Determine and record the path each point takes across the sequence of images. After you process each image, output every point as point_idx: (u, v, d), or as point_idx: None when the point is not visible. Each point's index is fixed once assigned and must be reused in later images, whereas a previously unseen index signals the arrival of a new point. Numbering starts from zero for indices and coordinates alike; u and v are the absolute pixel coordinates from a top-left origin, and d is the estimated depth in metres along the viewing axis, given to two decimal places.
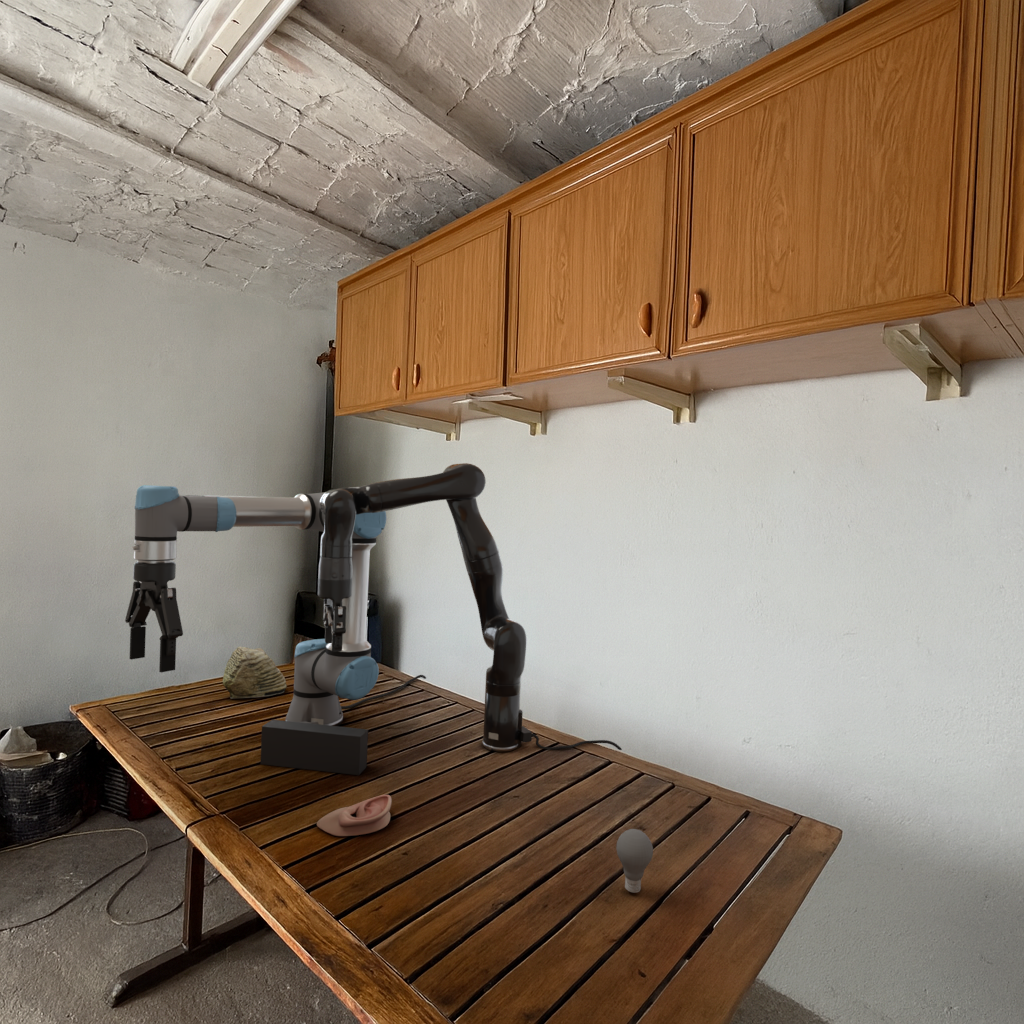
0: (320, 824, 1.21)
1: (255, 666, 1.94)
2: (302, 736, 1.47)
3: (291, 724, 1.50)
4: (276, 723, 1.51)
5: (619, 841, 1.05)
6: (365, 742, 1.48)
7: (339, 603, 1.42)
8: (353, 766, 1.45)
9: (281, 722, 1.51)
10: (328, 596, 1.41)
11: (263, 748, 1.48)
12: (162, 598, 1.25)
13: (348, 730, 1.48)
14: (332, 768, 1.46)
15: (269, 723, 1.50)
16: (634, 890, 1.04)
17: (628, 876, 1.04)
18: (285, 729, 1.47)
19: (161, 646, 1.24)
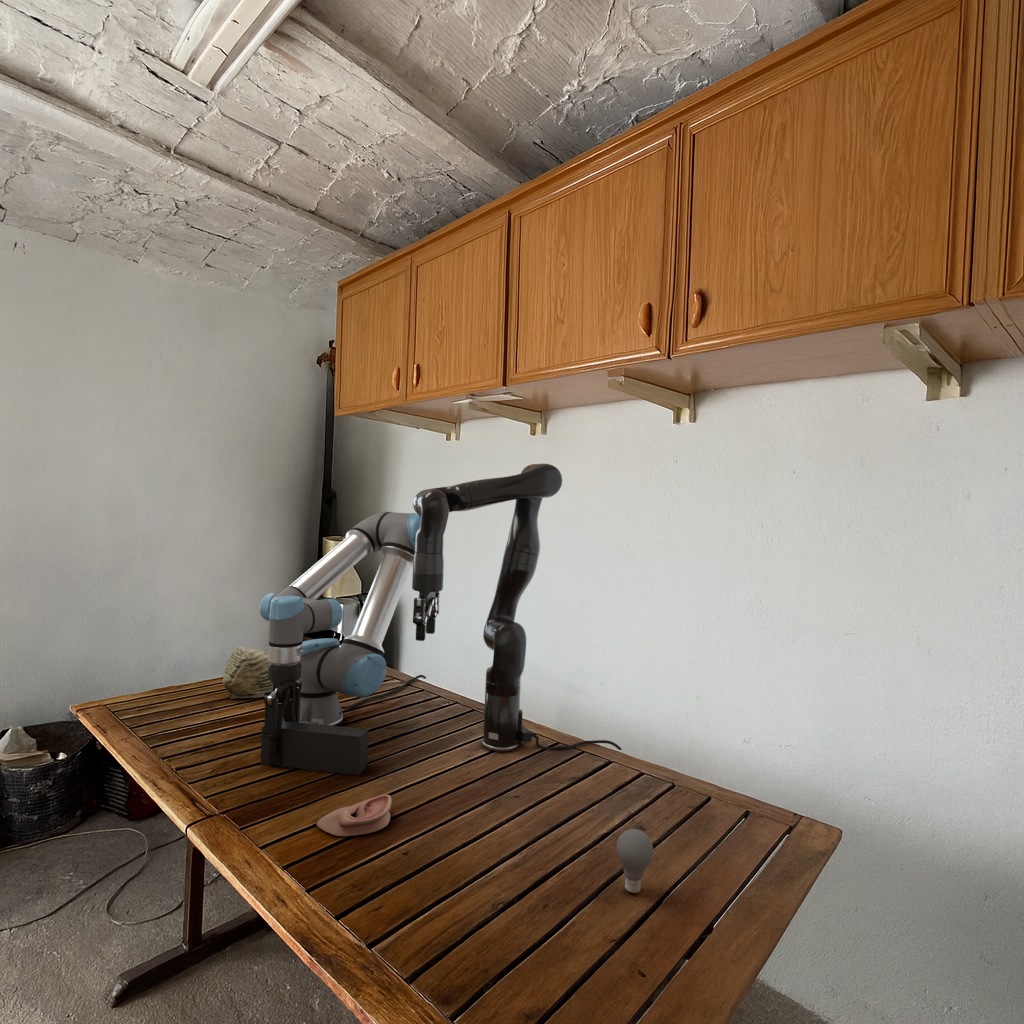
0: (320, 824, 1.21)
1: (255, 666, 1.94)
2: (302, 736, 1.47)
3: (291, 724, 1.50)
4: None
5: (619, 841, 1.05)
6: (365, 742, 1.48)
7: (424, 596, 1.51)
8: (353, 766, 1.45)
9: None
10: (415, 588, 1.52)
11: (263, 748, 1.48)
12: (299, 689, 1.55)
13: (348, 730, 1.48)
14: (332, 768, 1.46)
15: None
16: (634, 890, 1.04)
17: (628, 876, 1.04)
18: (285, 729, 1.47)
19: None
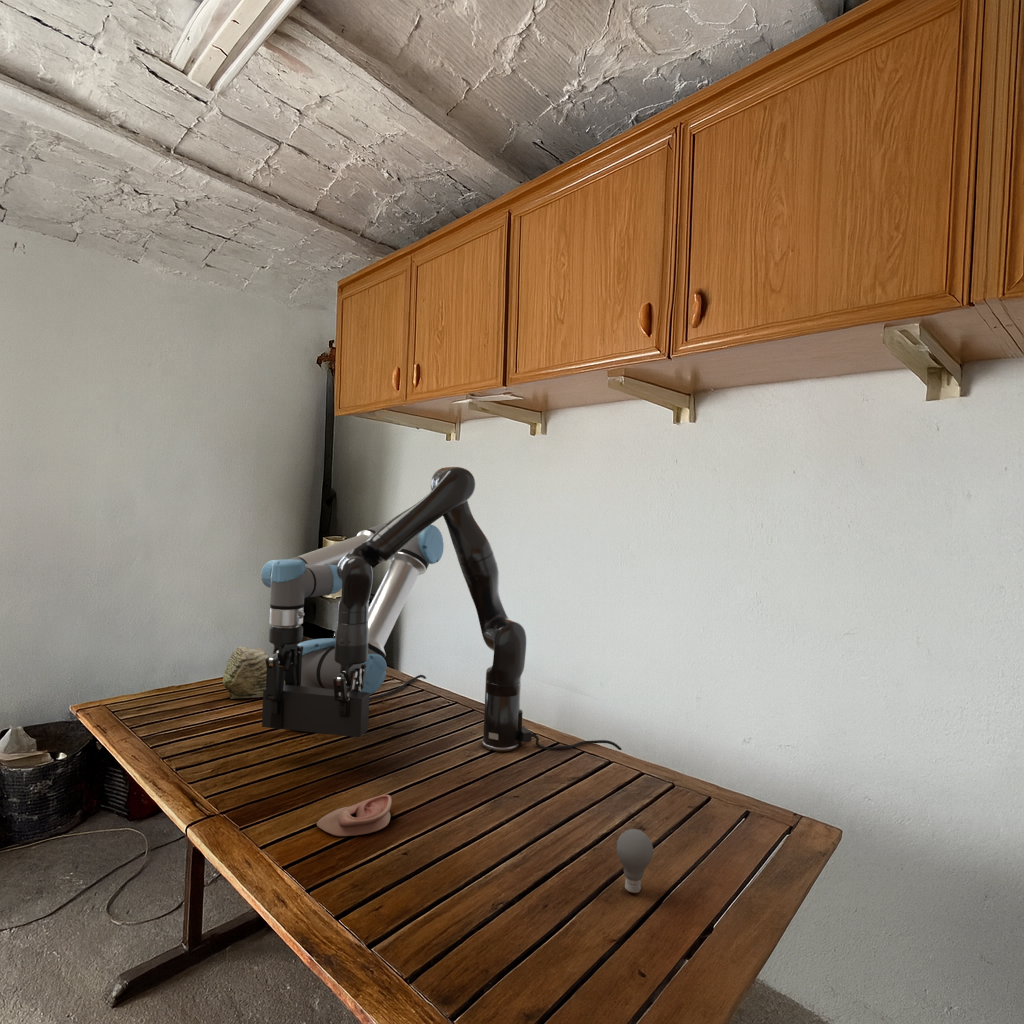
0: (320, 824, 1.21)
1: (255, 666, 1.94)
2: (303, 699, 1.47)
3: (293, 688, 1.50)
4: None
5: (619, 841, 1.05)
6: (366, 705, 1.48)
7: (345, 669, 1.43)
8: (355, 728, 1.45)
9: None
10: (337, 660, 1.44)
11: (264, 711, 1.48)
12: (301, 654, 1.55)
13: None
14: (333, 731, 1.45)
15: None
16: (634, 890, 1.04)
17: (628, 876, 1.04)
18: (287, 691, 1.47)
19: None
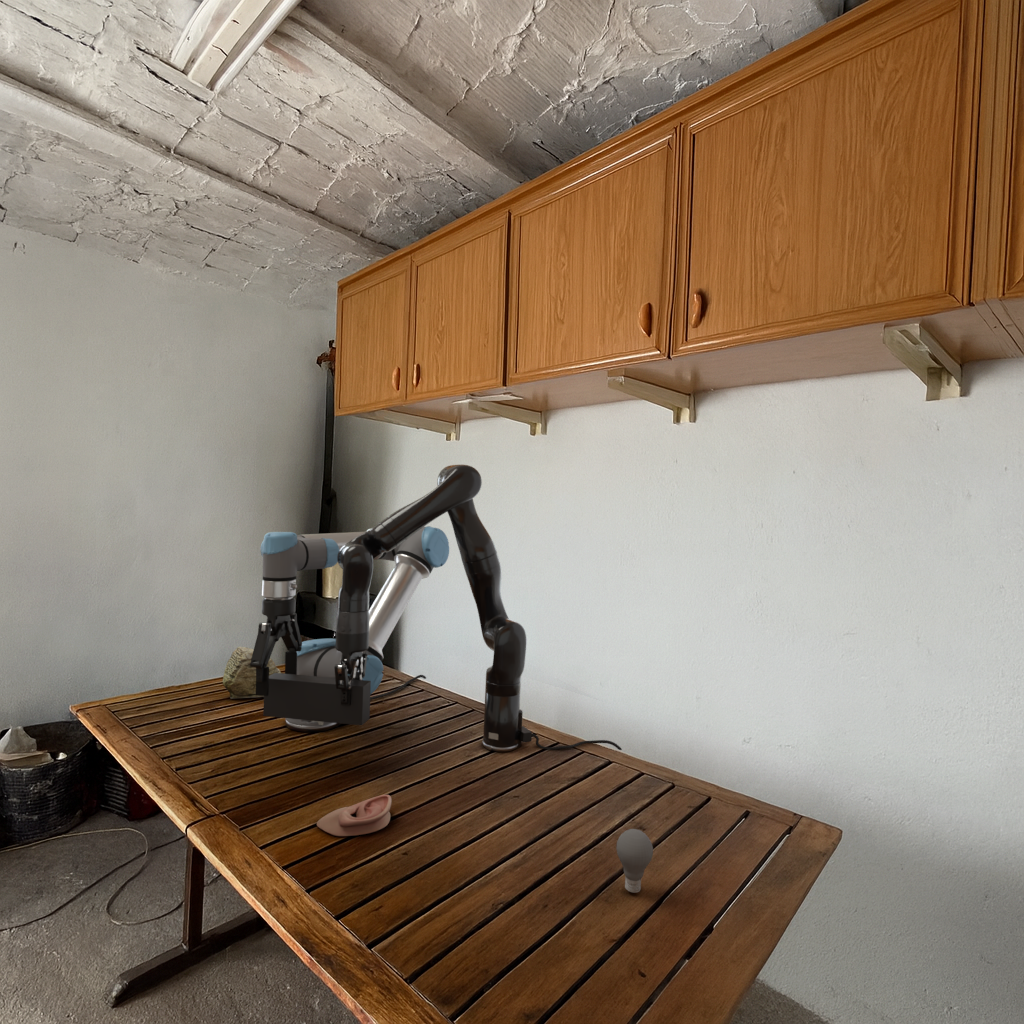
0: (320, 824, 1.21)
1: None
2: (304, 687, 1.46)
3: (294, 677, 1.50)
4: (278, 675, 1.50)
5: (619, 841, 1.05)
6: (368, 693, 1.48)
7: (346, 657, 1.43)
8: (356, 716, 1.45)
9: (284, 675, 1.51)
10: (338, 648, 1.44)
11: (266, 700, 1.48)
12: (295, 620, 1.56)
13: None
14: (335, 719, 1.45)
15: (272, 675, 1.50)
16: (634, 890, 1.04)
17: (628, 876, 1.04)
18: (288, 680, 1.47)
19: (296, 657, 1.57)
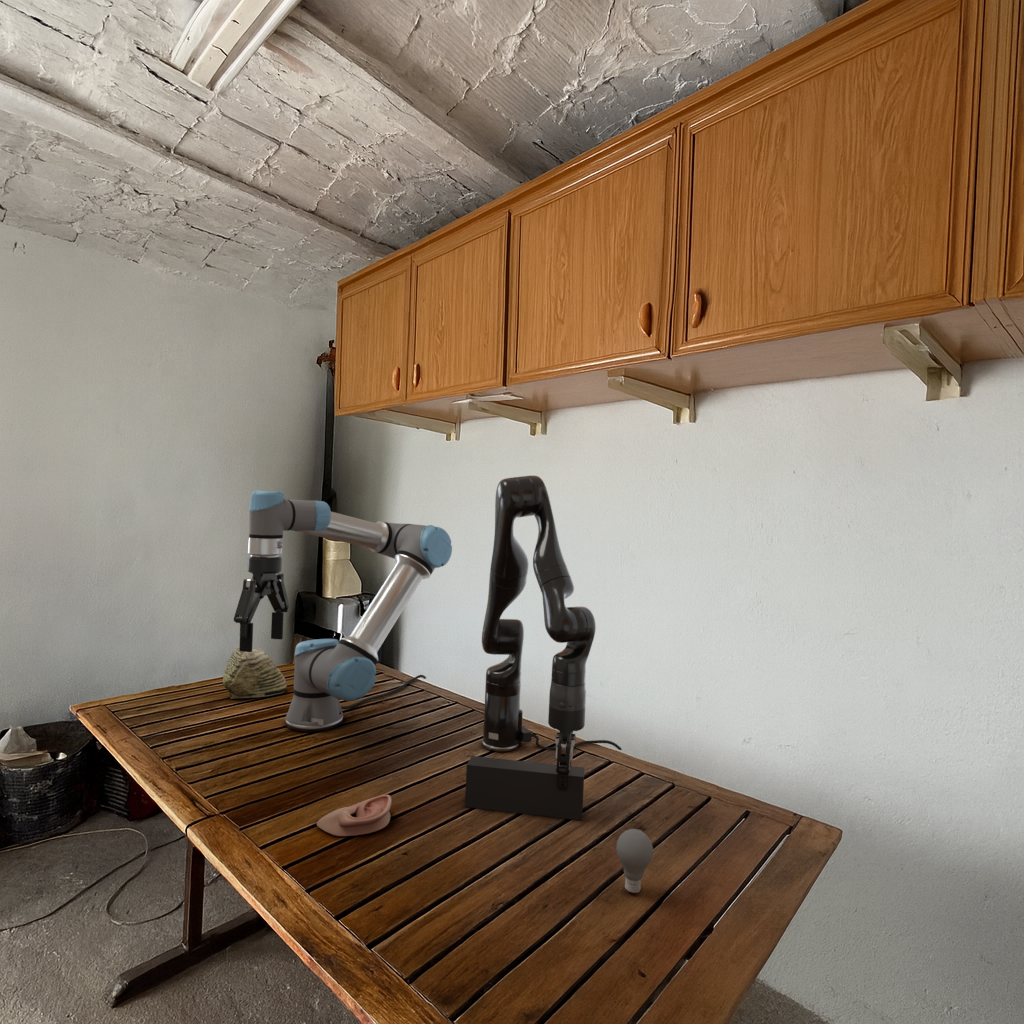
0: (320, 824, 1.21)
1: (255, 666, 1.94)
2: (514, 776, 1.30)
3: (497, 762, 1.34)
4: (479, 760, 1.34)
5: (619, 841, 1.05)
6: None
7: (566, 736, 1.27)
8: (575, 810, 1.29)
9: (484, 759, 1.35)
10: (555, 727, 1.28)
11: (468, 789, 1.32)
12: (282, 581, 1.56)
13: None
14: (550, 812, 1.29)
15: (472, 760, 1.34)
16: (634, 890, 1.04)
17: (628, 876, 1.04)
18: (495, 767, 1.31)
19: None
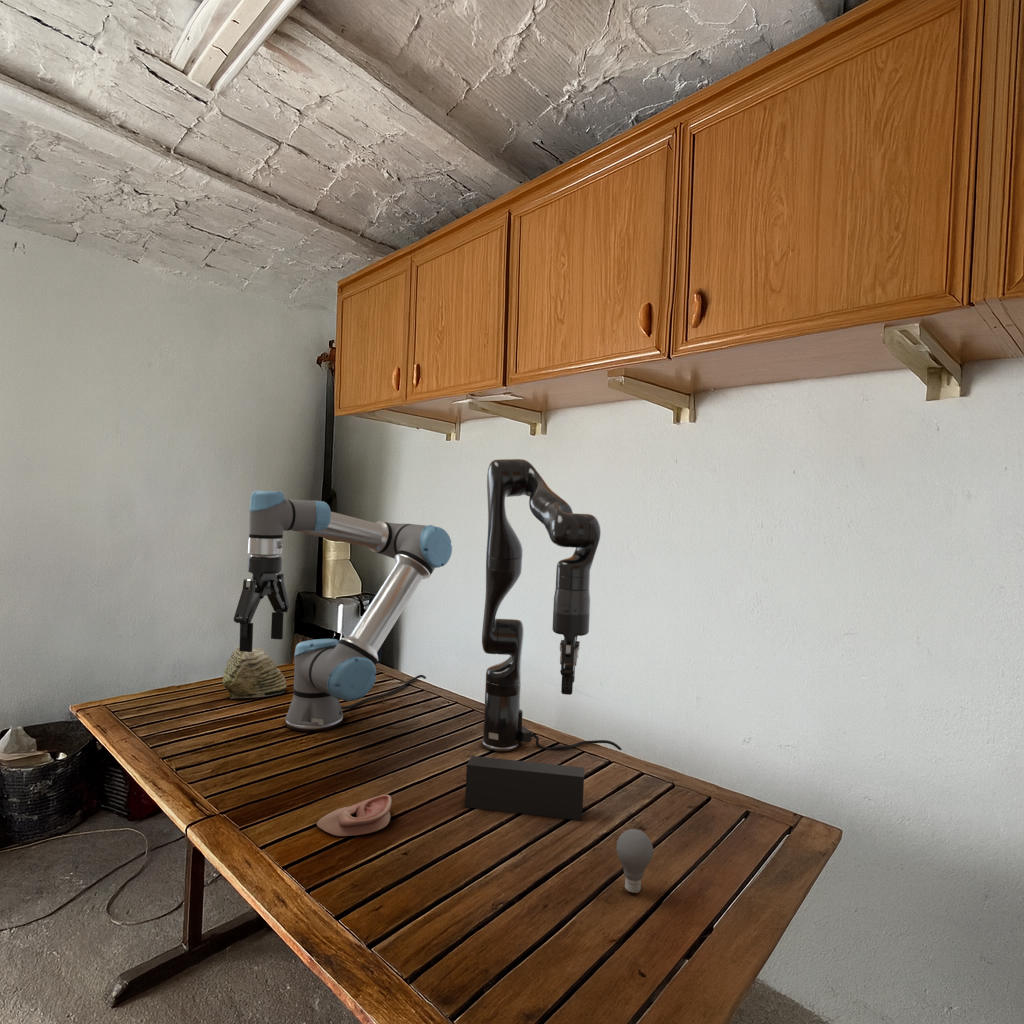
0: (320, 824, 1.21)
1: (255, 666, 1.94)
2: (514, 776, 1.30)
3: (497, 762, 1.34)
4: (479, 760, 1.34)
5: (619, 841, 1.05)
6: None
7: (571, 640, 1.27)
8: (575, 810, 1.29)
9: (484, 759, 1.35)
10: (559, 631, 1.28)
11: (468, 789, 1.32)
12: (282, 581, 1.56)
13: (564, 768, 1.32)
14: (550, 812, 1.29)
15: (472, 760, 1.34)
16: (634, 890, 1.04)
17: (628, 876, 1.04)
18: (495, 767, 1.31)
19: None
